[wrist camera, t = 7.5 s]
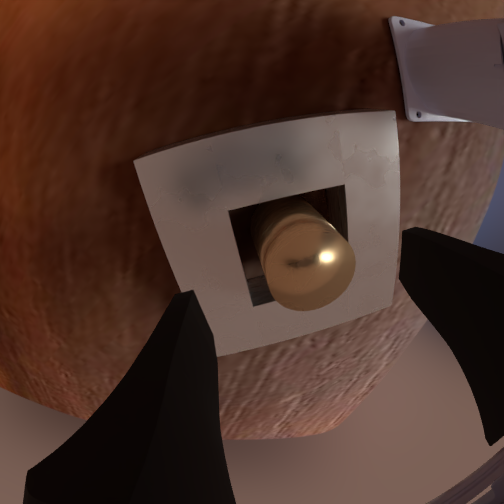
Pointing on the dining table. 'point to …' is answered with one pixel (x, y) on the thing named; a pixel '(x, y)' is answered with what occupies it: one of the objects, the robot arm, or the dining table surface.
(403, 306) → the dining table surface
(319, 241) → the cylinder
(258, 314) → the square stone frame
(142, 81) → the dining table surface
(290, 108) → the dining table surface
